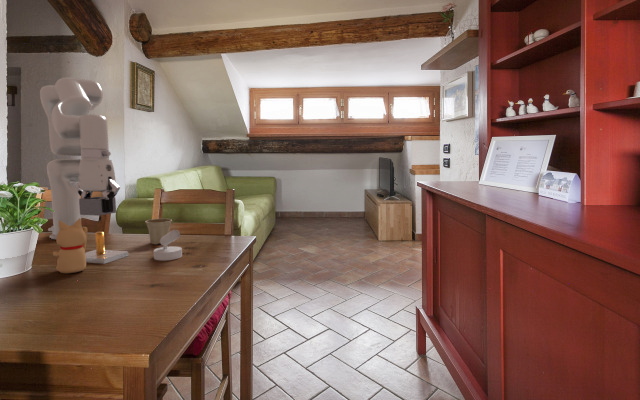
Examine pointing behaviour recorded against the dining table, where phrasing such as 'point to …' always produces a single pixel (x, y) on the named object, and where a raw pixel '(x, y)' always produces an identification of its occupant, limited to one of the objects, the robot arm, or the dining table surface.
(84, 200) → the grey square box
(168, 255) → the wall hook
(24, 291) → the dining table surface
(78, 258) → the figurine
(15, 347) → the dining table surface
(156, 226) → the flower pot
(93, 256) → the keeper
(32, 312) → the dining table surface
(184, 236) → the dining table surface
